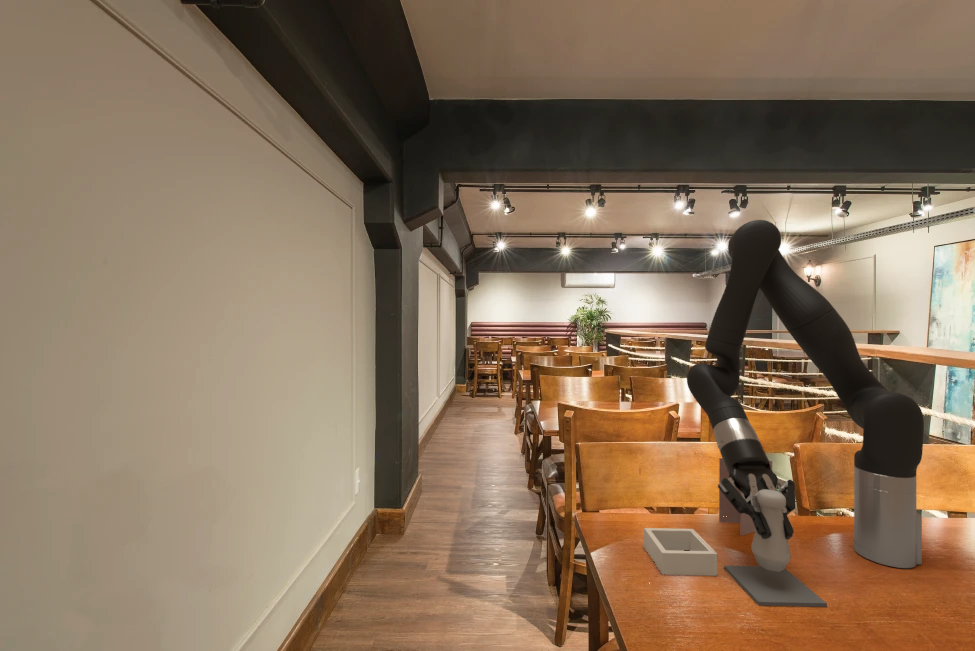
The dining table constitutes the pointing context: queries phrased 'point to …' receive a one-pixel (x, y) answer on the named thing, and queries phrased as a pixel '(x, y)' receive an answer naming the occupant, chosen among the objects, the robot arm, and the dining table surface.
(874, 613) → the dining table surface
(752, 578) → the mat
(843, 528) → the dining table surface
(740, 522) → the greeting card
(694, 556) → the collar
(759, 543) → the salt shaker
